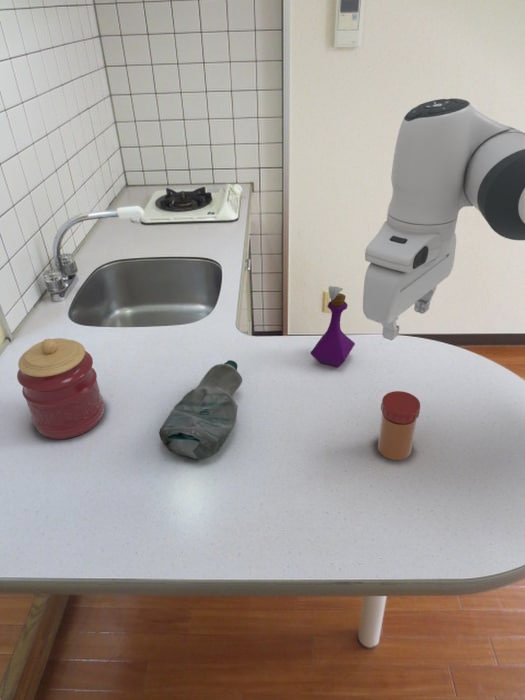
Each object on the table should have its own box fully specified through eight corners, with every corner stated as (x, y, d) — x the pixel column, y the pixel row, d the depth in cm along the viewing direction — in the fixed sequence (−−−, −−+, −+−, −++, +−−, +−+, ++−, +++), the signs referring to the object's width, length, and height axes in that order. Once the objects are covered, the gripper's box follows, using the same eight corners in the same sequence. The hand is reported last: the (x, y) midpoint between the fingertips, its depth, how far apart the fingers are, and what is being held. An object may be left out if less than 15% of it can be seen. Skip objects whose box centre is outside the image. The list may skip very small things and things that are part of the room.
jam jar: (405, 436, 94) (412, 394, 88) (414, 459, 89) (422, 416, 84) (374, 438, 93) (379, 396, 88) (382, 461, 89) (387, 418, 83)
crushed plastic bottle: (218, 472, 88) (266, 382, 107) (211, 440, 84) (262, 353, 103) (150, 459, 92) (208, 375, 111) (140, 429, 88) (202, 347, 107)
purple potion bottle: (322, 348, 118) (325, 275, 108) (354, 355, 115) (360, 281, 105) (309, 365, 112) (311, 290, 102) (343, 374, 109) (348, 297, 99)
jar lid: (385, 424, 84) (386, 415, 83) (377, 400, 89) (378, 391, 88) (423, 423, 84) (424, 414, 83) (413, 399, 89) (415, 390, 88)
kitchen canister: (100, 389, 108) (81, 314, 98) (110, 428, 98) (90, 350, 88) (33, 406, 104) (6, 330, 94) (36, 449, 94) (7, 369, 84)
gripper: (432, 208, 78) (419, 291, 86) (357, 253, 65) (350, 345, 73) (474, 217, 74) (456, 302, 82) (403, 266, 62) (391, 361, 70)
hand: (406, 323), depth 77 cm, fingers open, 8 cm apart
